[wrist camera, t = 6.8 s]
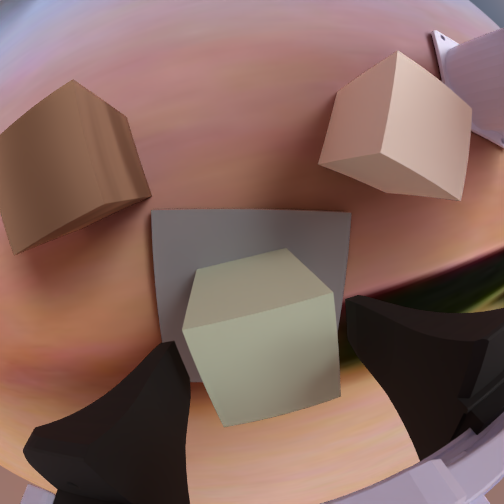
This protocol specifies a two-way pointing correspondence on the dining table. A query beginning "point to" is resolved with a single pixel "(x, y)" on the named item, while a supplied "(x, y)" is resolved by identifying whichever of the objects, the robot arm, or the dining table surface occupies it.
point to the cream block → (400, 131)
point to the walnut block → (66, 167)
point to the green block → (263, 337)
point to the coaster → (239, 253)
